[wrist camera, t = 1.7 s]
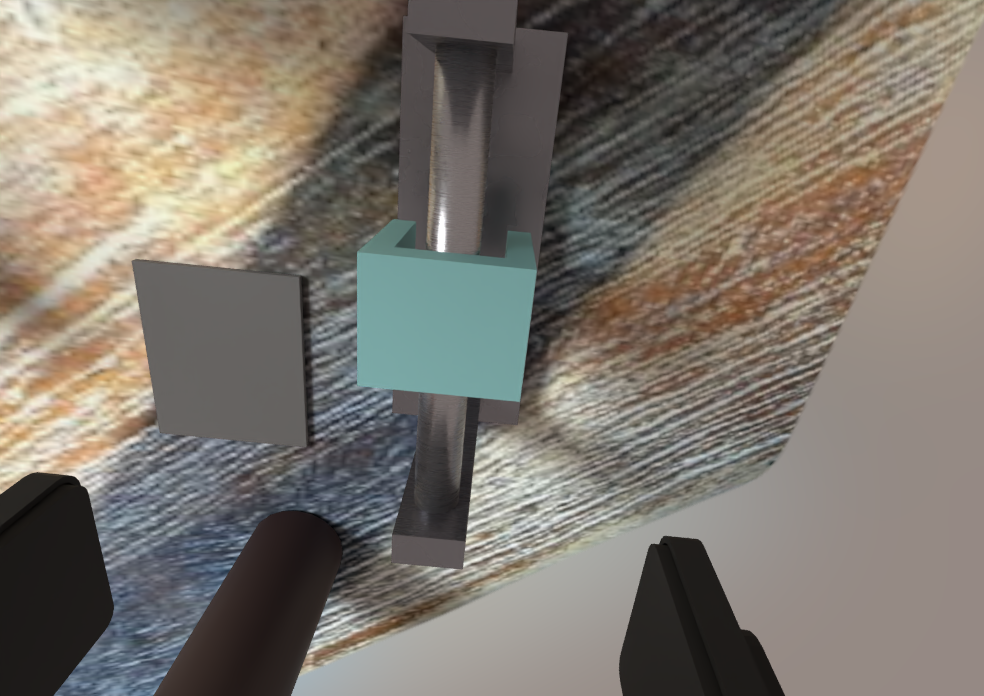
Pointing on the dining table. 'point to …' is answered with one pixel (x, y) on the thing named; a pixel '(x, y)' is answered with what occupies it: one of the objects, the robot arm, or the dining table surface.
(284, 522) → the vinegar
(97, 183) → the dining table surface
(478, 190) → the stand
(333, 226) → the dining table surface
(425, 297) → the teal u-channel
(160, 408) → the mat
